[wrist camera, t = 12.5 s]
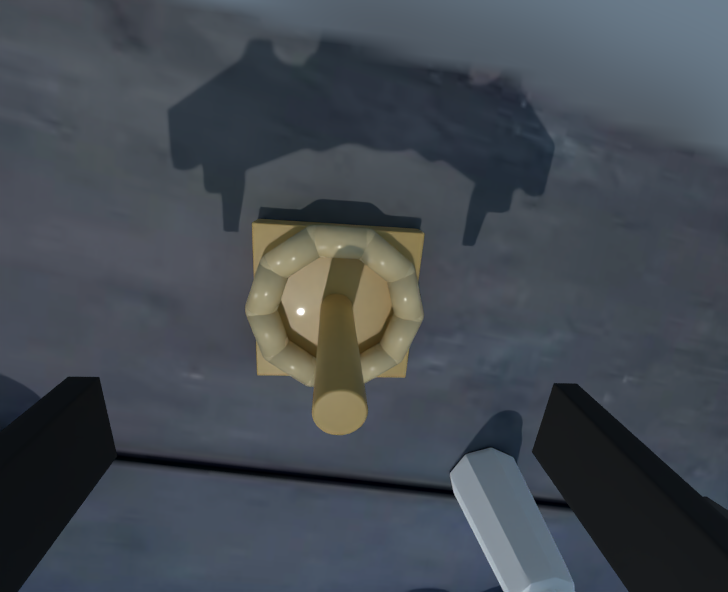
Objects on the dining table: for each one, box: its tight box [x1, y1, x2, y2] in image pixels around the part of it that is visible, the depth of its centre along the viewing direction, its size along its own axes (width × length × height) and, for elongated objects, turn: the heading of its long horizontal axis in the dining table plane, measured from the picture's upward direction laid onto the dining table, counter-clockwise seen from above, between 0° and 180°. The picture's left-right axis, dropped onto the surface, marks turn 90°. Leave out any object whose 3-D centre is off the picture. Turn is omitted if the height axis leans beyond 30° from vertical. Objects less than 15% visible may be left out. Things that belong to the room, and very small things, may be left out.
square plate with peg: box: [252, 219, 425, 435], centre depth 16 cm, size 9×9×10 cm
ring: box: [245, 224, 424, 387], centre depth 19 cm, size 9×10×2 cm
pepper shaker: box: [450, 447, 575, 592], centre depth 22 cm, size 5×5×11 cm
